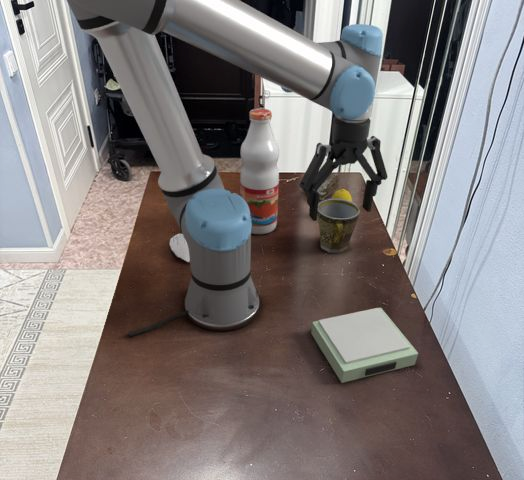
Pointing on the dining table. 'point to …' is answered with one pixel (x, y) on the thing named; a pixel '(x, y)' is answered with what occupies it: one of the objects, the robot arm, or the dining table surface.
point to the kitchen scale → (363, 344)
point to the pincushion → (180, 247)
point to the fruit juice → (260, 172)
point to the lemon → (342, 195)
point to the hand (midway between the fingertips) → (339, 213)
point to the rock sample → (328, 186)
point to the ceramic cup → (336, 223)
